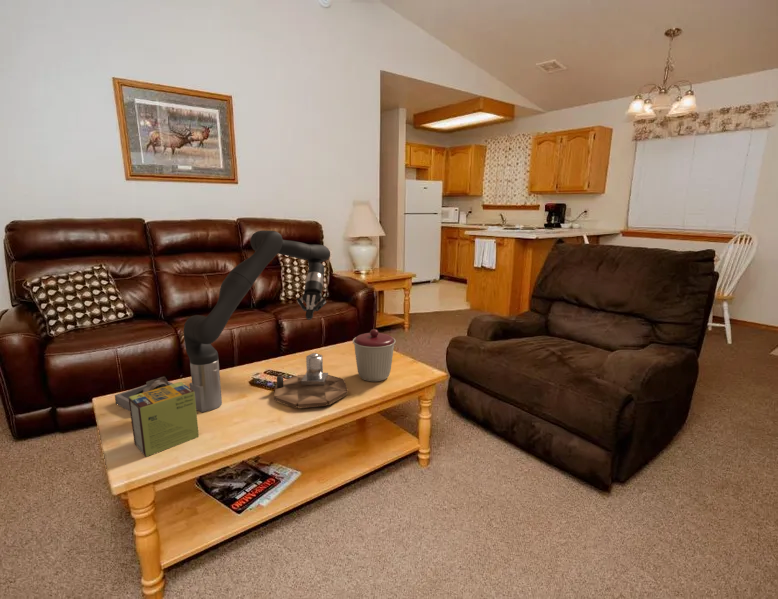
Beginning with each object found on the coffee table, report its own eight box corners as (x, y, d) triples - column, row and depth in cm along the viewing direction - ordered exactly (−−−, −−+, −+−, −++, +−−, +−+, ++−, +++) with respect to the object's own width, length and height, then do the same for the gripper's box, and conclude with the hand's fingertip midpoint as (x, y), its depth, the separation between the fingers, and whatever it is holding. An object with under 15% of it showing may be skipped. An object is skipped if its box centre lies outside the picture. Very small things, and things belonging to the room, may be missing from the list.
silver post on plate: (323, 385, 162) (323, 358, 160) (301, 384, 163) (300, 358, 160) (328, 376, 171) (327, 350, 169) (306, 375, 171) (305, 350, 169)
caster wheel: (135, 415, 148) (139, 399, 156) (169, 404, 151) (171, 389, 160) (128, 400, 145) (132, 385, 154) (162, 389, 148) (165, 375, 157)
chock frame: (138, 415, 142) (137, 406, 142) (116, 404, 150) (114, 395, 150) (186, 396, 157) (185, 388, 156) (163, 387, 165) (162, 379, 164)
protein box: (199, 436, 130) (195, 390, 126) (145, 457, 118) (139, 407, 115) (185, 425, 136) (181, 381, 133) (133, 444, 125) (127, 396, 122)
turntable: (313, 414, 142) (312, 399, 141) (259, 395, 156) (258, 381, 155) (360, 386, 164) (360, 374, 163) (309, 372, 178) (309, 360, 177)
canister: (366, 389, 165) (366, 338, 160) (345, 374, 180) (344, 327, 175) (403, 379, 174) (404, 331, 170) (381, 366, 189) (381, 321, 185)
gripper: (297, 279, 179) (291, 314, 170) (327, 279, 179) (323, 314, 169) (301, 289, 186) (295, 323, 176) (330, 289, 185) (326, 323, 176)
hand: (308, 318), depth 173 cm, fingers closed
